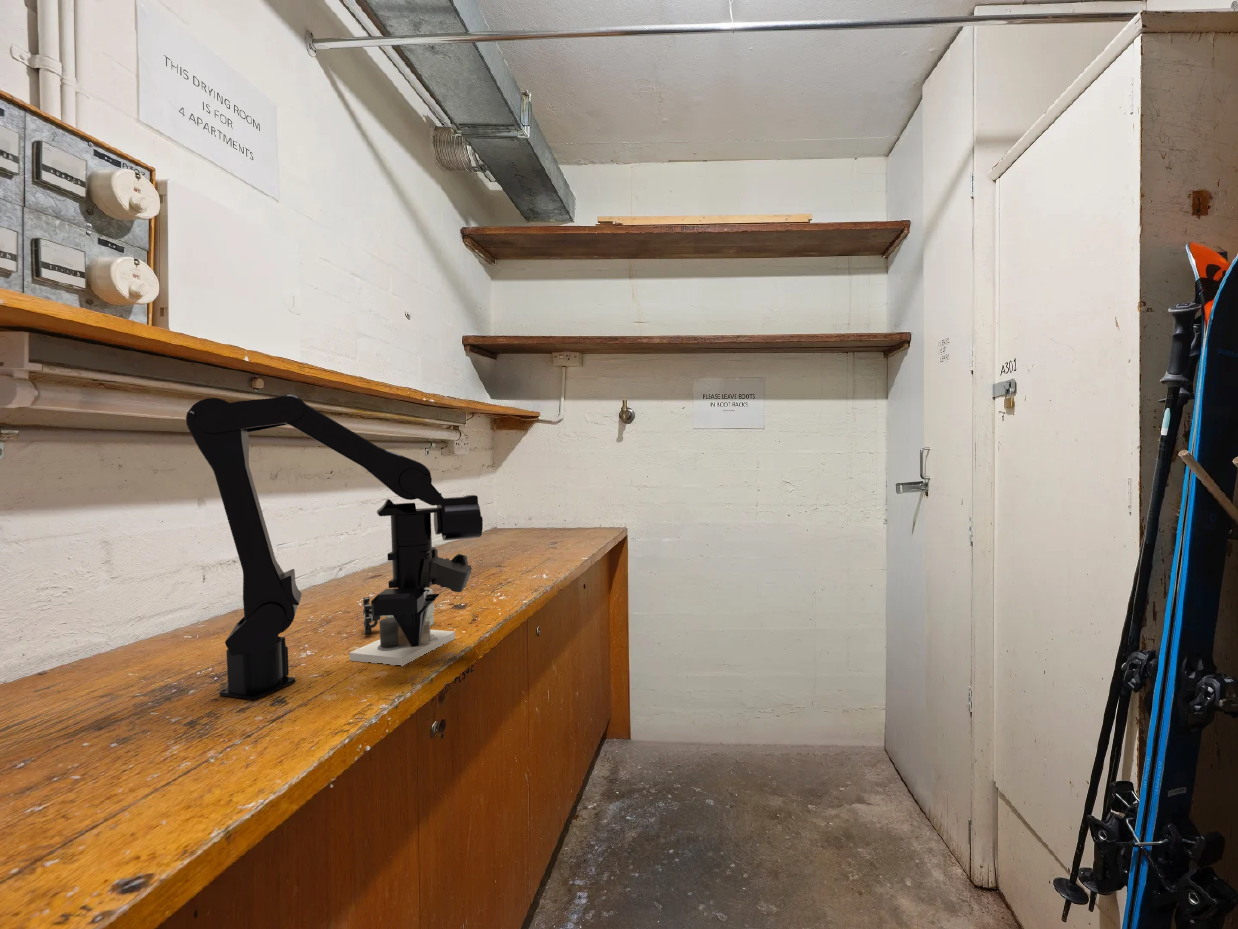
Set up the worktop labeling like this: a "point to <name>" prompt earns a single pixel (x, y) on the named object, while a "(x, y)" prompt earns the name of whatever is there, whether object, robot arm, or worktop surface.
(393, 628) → the lever
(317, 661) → the worktop surface
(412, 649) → the dial board
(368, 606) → the valve
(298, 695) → the worktop surface
